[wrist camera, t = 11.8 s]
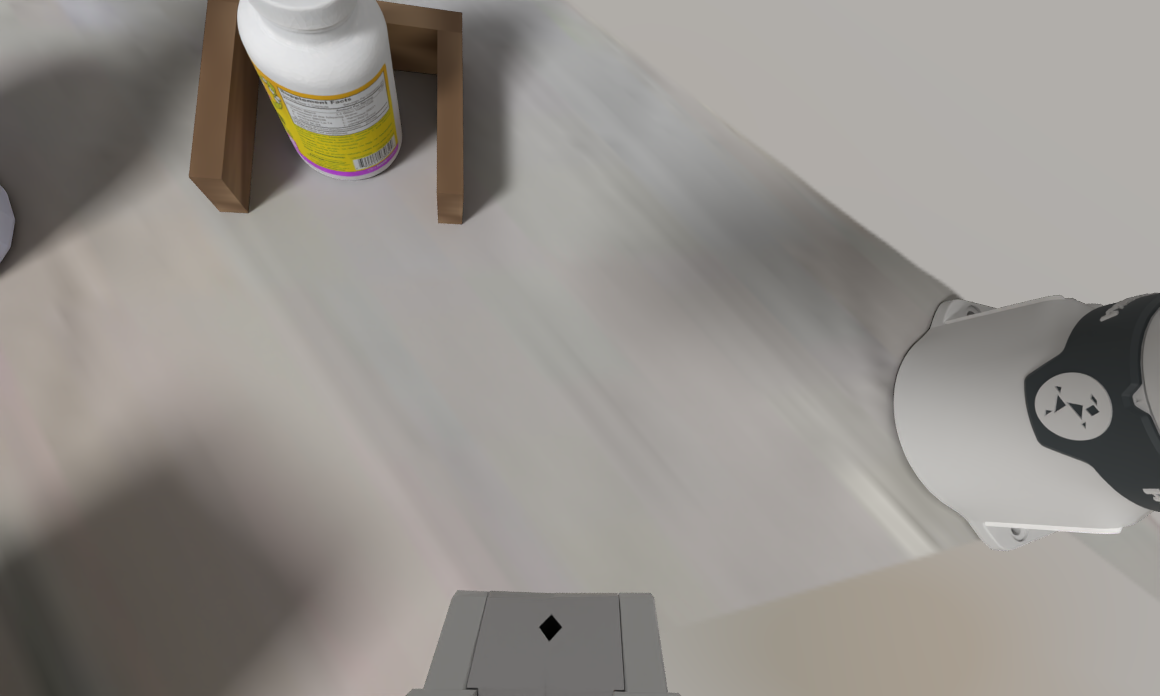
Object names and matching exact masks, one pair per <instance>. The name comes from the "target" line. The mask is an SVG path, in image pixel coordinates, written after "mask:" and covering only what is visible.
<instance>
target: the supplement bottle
mask: <svg viewBox="0 0 1160 696" xmlns="http://www.w3.org/2000/svg"><path fill="white" fill-rule="evenodd" d="M237 23H238V30H239V34H240V37H241V40H242V42H243V45H244V47H245V49H246V51H247V54H248V56H249V57H250V59H251V61H252V63H253V65H254V67H255V69H256V71H257V73H258V75H259V77H260V79H261V81H262V83H263V85H264V87H265V89H266V91H267V93H268V95H269V97H270V99H271V101H272V103H273V105H274V108H275V110H276V111H277V114H278V116H279V118H280V120H281V122H282V124H283V126H284V128H285V130H286V132H287V134H288V136H289V138H290V140H291V142H292V143H293V145H294V147H295V149H296V151H297V152H298V154H299V155H300V156H301V158H302V159H303V160H304V161H305V162H306V163H307V164H308V165H309V166H311V167H312V168H313V169H315V170H316V171H318V172H319V173H321V174H323V175H326V176H328V177H331V178H334V179H339V180H361V179H366V178H370V177H373V176H375V175H377V174H379V173H381V172H382V171H384V170H385V169H386V168H388V167H389V166H390V165H391V163H392V162H393V161H394V160H395V158H396V157H397V155H398V153H399V150H400V147H401V143H402V128H401V121H400V113H399V106H398V100H397V94H396V87H395V80H394V74H393V67H392V61H391V54H390V46H389V39H388V32H387V25H386V22H385V18H384V16H383V13H382V11H381V9H380V7H379V5H378V3H377V2H376V0H240V1H239V5H238V11H237Z"/></svg>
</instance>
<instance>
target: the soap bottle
mask: <svg viewBox="0 0 1160 696" xmlns="http://www.w3.org/2000/svg"><path fill="white" fill-rule="evenodd" d="M14 225H15V218H14V215H13V211H12V208H11V204H10V201H9V197H8V195H7V192H6V191H5V190H4V189H3V188H2V187H1V185H0V262H1V261H2V259H3V258H4V256H5V255H6V253H7V252H8V250H9V249H10V247H11V242H12V236H13V231H14Z"/></svg>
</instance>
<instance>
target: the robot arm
mask: <svg viewBox="0 0 1160 696" xmlns="http://www.w3.org/2000/svg"><path fill="white" fill-rule="evenodd" d="M894 417H895V424H896V429H897V433H898V437H899V440H900V443H901V446H902V448H903V451H904V453H905V455H906V458H907V460H908V462H909V464H910V465H911V467H912V469H913V470H914V472H915V474H916V475H917V476H918V478H919V479H920V481H921V482H922V483H923V484H924V486H925V487H926V488H927V489H928V490H929V491H930V492H931V493H932V494H933V495H934V496H935V497H936V498H938V499H939V500H940V501H941V502H943V503H944V504H945V505H947V506H948V507H950V508H951V509H953V510H954V511H956V512H957V513H959V514H960V515H961V516H963V517H964V518H965V519H966V520H967V521H968V523H969V524H970V525H971V527H972V528H973V530H974V531H975V532H976V534H977V535H978V536H979V538H980V539H981V540H982V541H983V542H984V544H985V545H987V546H988V547H989V548H990V549H993V550H1002V551H1003V550H1004V551H1010V550H1013V549H1016V548H1019V547H1021V546H1024V545H1026V544H1029V543H1031V542H1033V541H1036V540H1038V539H1041V538H1043V537H1045V536H1048V535H1051V534H1053V533H1055V532H1058V531H1067V532H1082V533H1097V534H1117V533H1120V532H1121V530H1122V527H1126V526H1130V525H1133V524H1135V523H1137V522H1139V521H1141V520H1142V519H1144V518H1145V517H1146V516H1148V515H1149V514H1151V513H1152V512H1154V511H1158V512H1160V293H1153V294H1144V295H1139V296H1135V297H1131V298H1127V299H1125V300H1123V301H1120V302H1118V303H1113V304H1109V305H1106V306H1103V305H1101V304H1085V303H1082V302H1080V301H1076V299H1073V298H1064V297H1063V296H1060V295H1056V296H1048V297H1043V298H1039V299H1035V300H1030V301H1027V302H1022V303H1018V304H1014V305H1010V306H1005V307H1001V308H993V307H989V306H985V305H981V304H977V303H973V302H969V301H965V300H961V299H954V300H950V301H945V302H943V303H941V304H940V306H939V307H938V309H937V311H936V313H935V316H934V319H933V321H932V324H931V327H930V329H929V331H928V332H927V333H926V334H925V335H924V336H923V337H922V338H921V339H920V340H919V341H918V342H917V343H916V344H915V345H914V346H913V347H912V348H911V349H910V350H909V352H908V353H907V355H906V356H905V358H904V360H903V362H902V364H901V366H900V369H899V372H898V375H897V378H896V383H895V389H894ZM406 696H681V695H680V694H679V693H668V690H667V683H666V677H665V670H664V662H663V656H662V649H661V642H660V635H659V629H658V622H657V615H656V608H655V601H654V597H653V596H652V594H651V593H619V595H618V593H532V592H507V591H490V592H485V591H463V590H457V592H456V593H455V595H454V596H453V598H452V600H451V603H450V606H449V609H448V612H447V615H446V619H445V622H444V625H443V628H442V631H441V634H440V638H439V641H438V644H437V647H436V650H435V653H434V657H433V660H432V663H431V666H430V669H429V672H428V676H427V679H426V682H425V685H424V688H423V689H412V690H411V691H410V692H409V693H408V694H407V695H406Z"/></svg>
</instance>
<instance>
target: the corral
mask: <svg viewBox="0 0 1160 696" xmlns="http://www.w3.org/2000/svg"><path fill="white" fill-rule="evenodd" d="M239 1H240V0H208V3H207V13H206V22H205V31H204V40H203V50H202V59H201V68H200V78H199V87H198V96H197V106H196V115H195V124H194V133H193V143H192V152H191V161H190V171H189V178H190V179H191V180H192V181H193V182H194V183H195V184H196V186H197V187H198V188H199V189H200V190H201V191H202V192H203V193H204V194H205V196H206V197H207V198H208V199H209V200H210V201H211V202H212V203H213V204H214V206H215V207H216V208H217V209H218V210H219V211H220V212H235V213H248V211H249V198H250V186H251V174H252V161H253V149H254V137H255V125H256V112H257V100H258V88H259V75H258V73H257V71H256V69H255V67H254V65H253V63H252V61H251V59H250V57H249V56H248V54H247V51H246V49H245V47H244V45H243V42H242V40H241V37H240V34H239V30H238V23H237V11H238V5H239ZM376 2H377V3H378V5H379V7H380V9H381V11H382V13H383V16H384V18H385V22H386V25H387V32H388V39H389V46H390V54H391V61H392V67H393V70H402V71H411V72H419V73H428V74H437V206H438V223H447V224H462V214H463V63H462V13H461V12H454V11H447V10H440V9H433V8H426V7H419V6H412V5H405V4H398V3H391V2H384V1H377V0H376Z"/></svg>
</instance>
